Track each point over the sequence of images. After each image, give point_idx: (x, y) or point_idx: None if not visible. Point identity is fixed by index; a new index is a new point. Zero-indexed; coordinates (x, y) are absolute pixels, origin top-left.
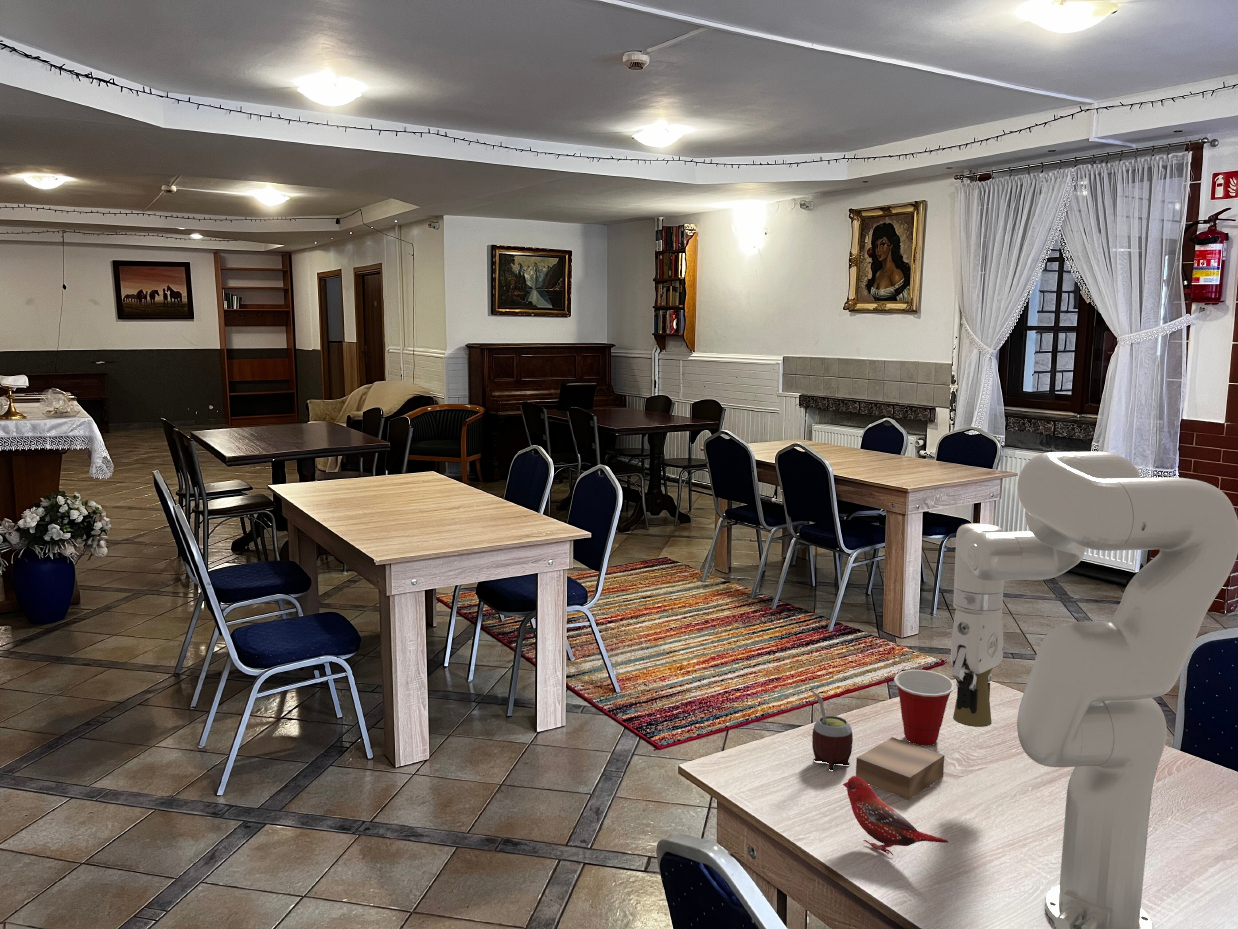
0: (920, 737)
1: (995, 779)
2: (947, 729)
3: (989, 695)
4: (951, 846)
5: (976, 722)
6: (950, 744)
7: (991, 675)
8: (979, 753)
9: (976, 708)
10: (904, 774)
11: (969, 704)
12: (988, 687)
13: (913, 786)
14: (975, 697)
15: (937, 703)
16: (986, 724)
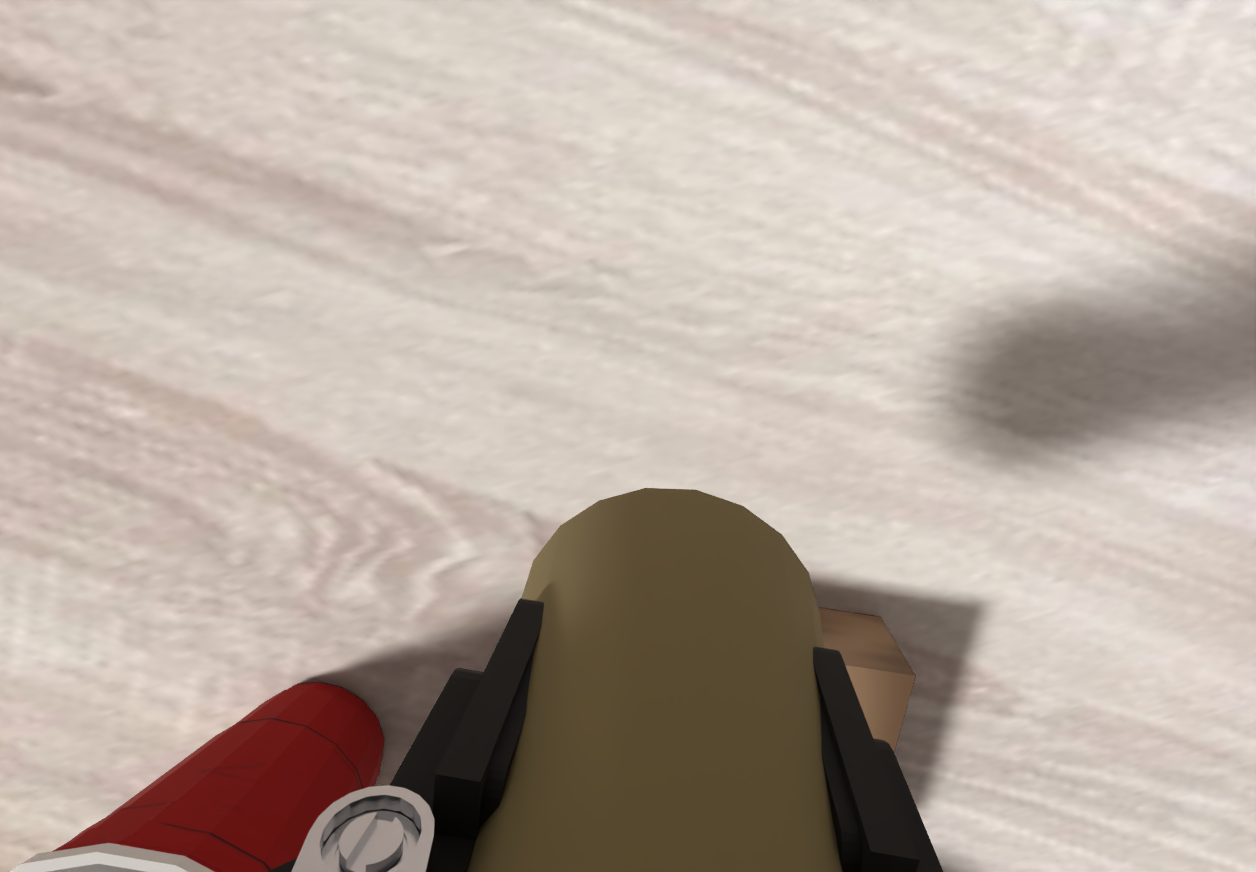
0: (369, 748)
1: (463, 396)
2: (150, 683)
3: (496, 657)
4: (1175, 371)
5: (807, 586)
6: (277, 634)
7: (299, 861)
8: (270, 518)
9: (827, 670)
10: (898, 703)
11: (887, 758)
12: (495, 741)
13: (859, 638)
14: (880, 778)
15: (246, 840)
16: (736, 513)
